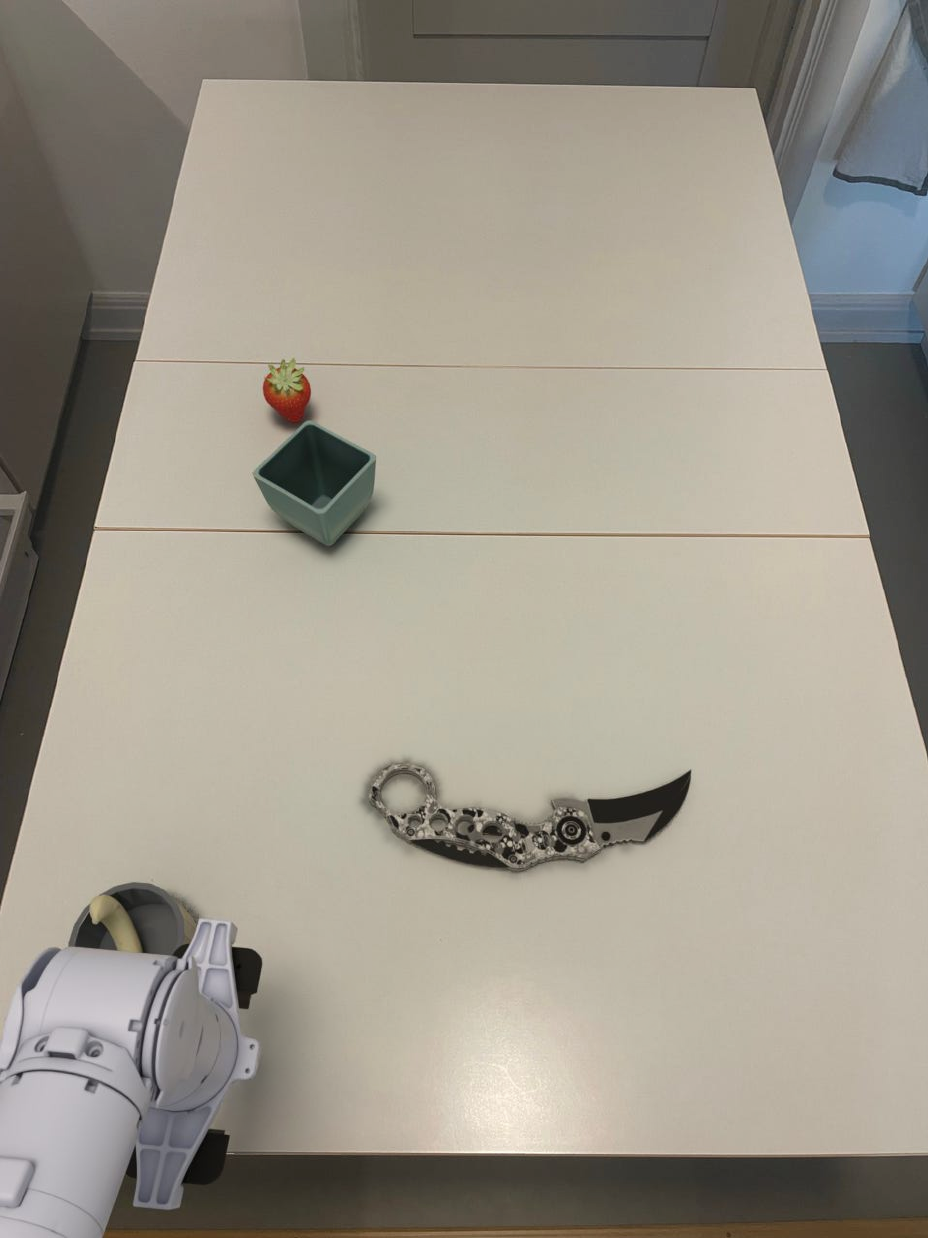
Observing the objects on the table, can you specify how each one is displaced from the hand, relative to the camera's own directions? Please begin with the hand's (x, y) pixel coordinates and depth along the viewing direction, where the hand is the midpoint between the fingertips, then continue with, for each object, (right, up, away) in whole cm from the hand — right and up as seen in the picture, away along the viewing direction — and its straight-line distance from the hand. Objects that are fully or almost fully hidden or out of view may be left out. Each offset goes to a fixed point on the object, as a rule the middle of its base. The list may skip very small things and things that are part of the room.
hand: (221, 1066), depth 57 cm
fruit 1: (-10, +1, +11) cm, 15 cm away
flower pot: (+1, +39, +36) cm, 53 cm away
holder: (-9, +2, +13) cm, 16 cm away
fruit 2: (-4, +52, +43) cm, 67 cm away
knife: (+22, +12, +20) cm, 32 cm away
